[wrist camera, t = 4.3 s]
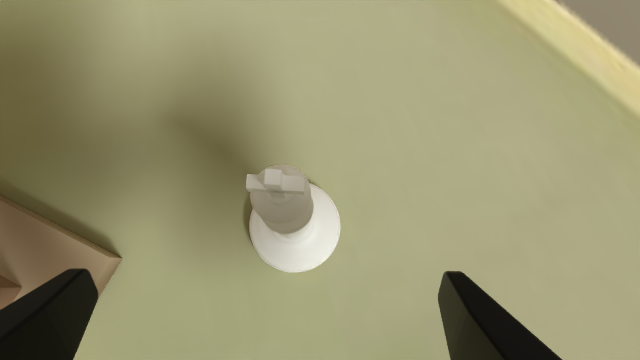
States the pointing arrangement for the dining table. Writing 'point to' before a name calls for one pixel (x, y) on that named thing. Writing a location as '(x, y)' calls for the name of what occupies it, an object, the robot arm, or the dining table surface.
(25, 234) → the pedestal
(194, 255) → the dining table surface
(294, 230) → the chess piece
